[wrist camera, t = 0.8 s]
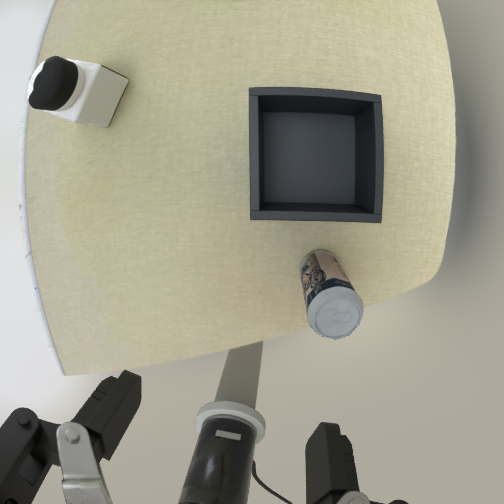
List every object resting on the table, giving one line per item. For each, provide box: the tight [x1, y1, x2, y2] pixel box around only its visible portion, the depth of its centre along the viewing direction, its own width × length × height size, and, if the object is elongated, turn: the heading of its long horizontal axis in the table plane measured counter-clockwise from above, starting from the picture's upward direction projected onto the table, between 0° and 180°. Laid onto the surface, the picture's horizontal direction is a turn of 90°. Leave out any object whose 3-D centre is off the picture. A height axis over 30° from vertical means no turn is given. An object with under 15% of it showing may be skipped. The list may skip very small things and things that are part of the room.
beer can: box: [300, 250, 363, 339], centre depth 27 cm, size 5×5×12 cm
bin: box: [249, 87, 384, 223], centre depth 25 cm, size 12×12×8 cm
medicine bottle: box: [27, 56, 129, 128], centre depth 23 cm, size 7×7×12 cm
